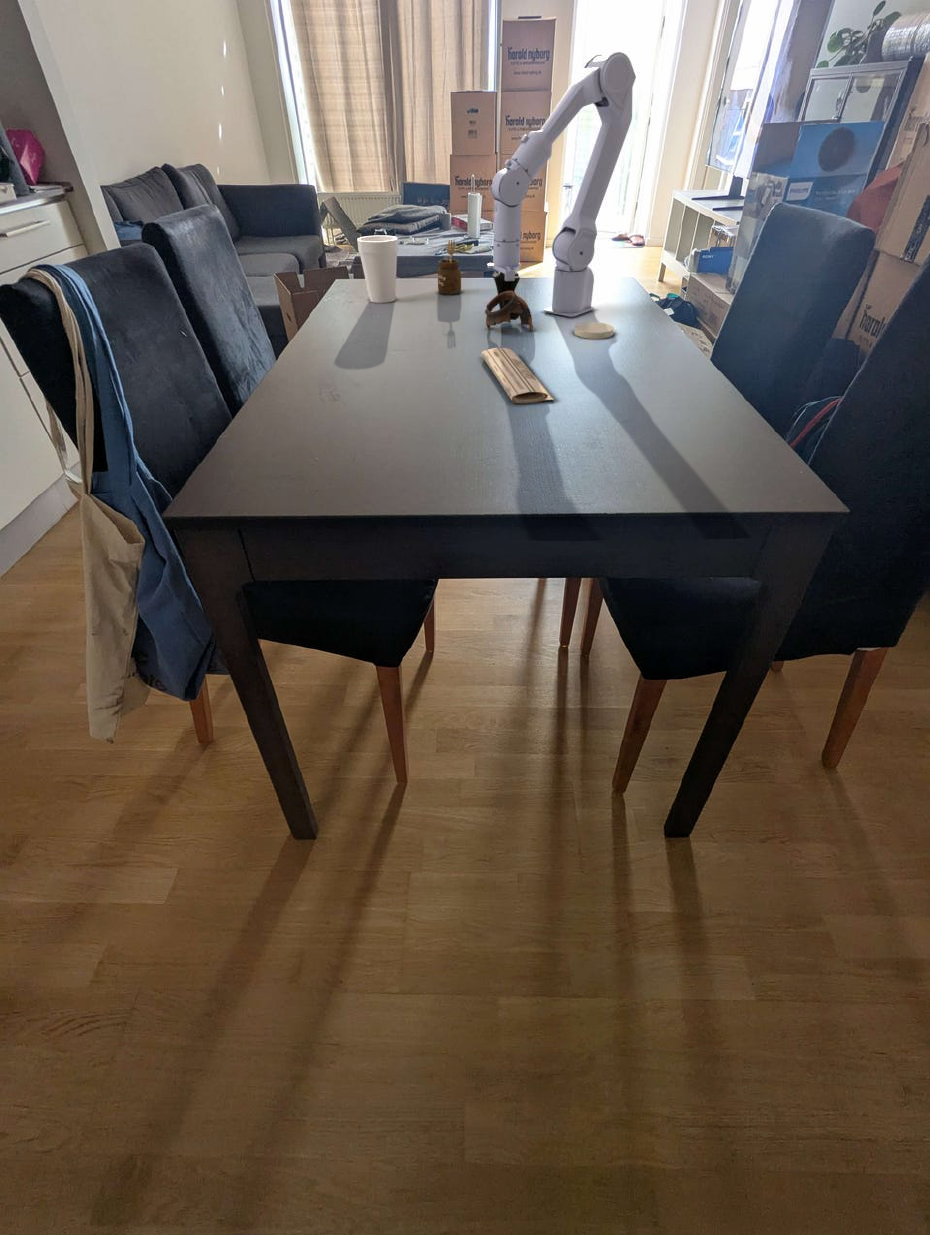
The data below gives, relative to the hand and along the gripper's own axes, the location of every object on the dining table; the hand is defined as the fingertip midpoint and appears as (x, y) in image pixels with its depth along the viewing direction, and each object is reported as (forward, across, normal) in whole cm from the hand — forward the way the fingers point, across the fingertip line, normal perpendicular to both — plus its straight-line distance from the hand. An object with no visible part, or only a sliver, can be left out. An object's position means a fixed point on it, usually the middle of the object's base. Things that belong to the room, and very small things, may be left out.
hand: (504, 310), depth 137 cm
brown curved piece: (+2, +9, 0) cm, 9 cm away
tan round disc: (+1, +15, +17) cm, 22 cm away
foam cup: (+2, -19, -28) cm, 34 cm away
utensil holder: (+2, -25, -11) cm, 27 cm away
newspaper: (+2, +40, -3) cm, 40 cm away
